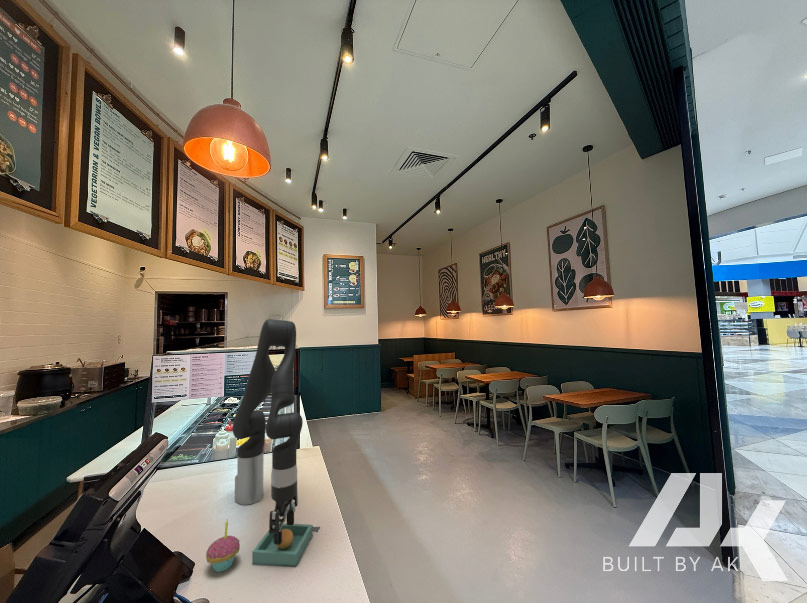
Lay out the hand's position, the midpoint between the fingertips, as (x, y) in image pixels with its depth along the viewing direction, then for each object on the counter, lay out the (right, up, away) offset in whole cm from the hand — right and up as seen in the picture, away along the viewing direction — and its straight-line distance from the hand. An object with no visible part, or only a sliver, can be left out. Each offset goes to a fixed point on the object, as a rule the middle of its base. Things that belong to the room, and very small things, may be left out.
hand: (284, 533), depth 100 cm
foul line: (+1, -5, +9) cm, 11 cm away
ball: (0, -2, 0) cm, 2 cm away
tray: (0, -5, 0) cm, 5 cm away
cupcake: (-15, -5, -6) cm, 17 cm away
